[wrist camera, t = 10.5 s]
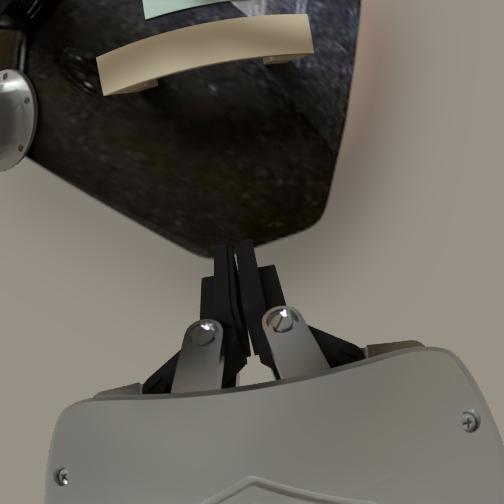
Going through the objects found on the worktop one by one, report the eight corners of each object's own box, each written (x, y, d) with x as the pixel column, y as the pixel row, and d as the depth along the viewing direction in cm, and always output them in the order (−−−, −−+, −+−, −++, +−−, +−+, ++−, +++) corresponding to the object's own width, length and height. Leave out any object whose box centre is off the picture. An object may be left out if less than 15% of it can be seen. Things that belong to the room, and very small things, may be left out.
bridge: (284, 62, 21) (313, 53, 14) (138, 91, 21) (103, 95, 14) (280, 35, 20) (307, 14, 12) (133, 64, 19) (96, 57, 12)
